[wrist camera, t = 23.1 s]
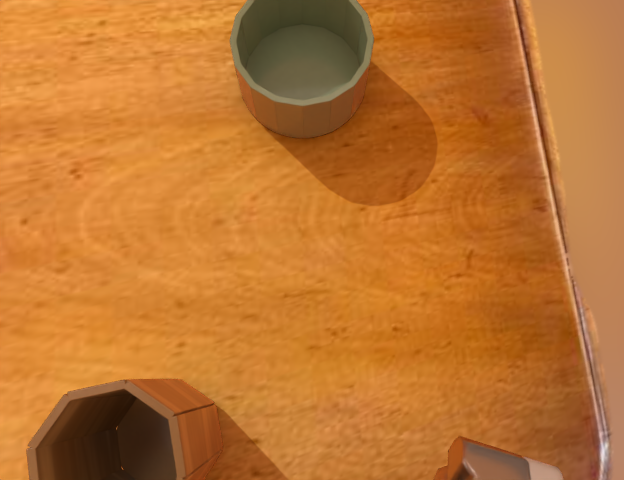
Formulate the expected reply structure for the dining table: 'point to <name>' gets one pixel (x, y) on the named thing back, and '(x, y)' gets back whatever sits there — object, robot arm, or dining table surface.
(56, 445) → the octagonal wooden container
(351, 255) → the dining table surface
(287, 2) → the gray bowl
